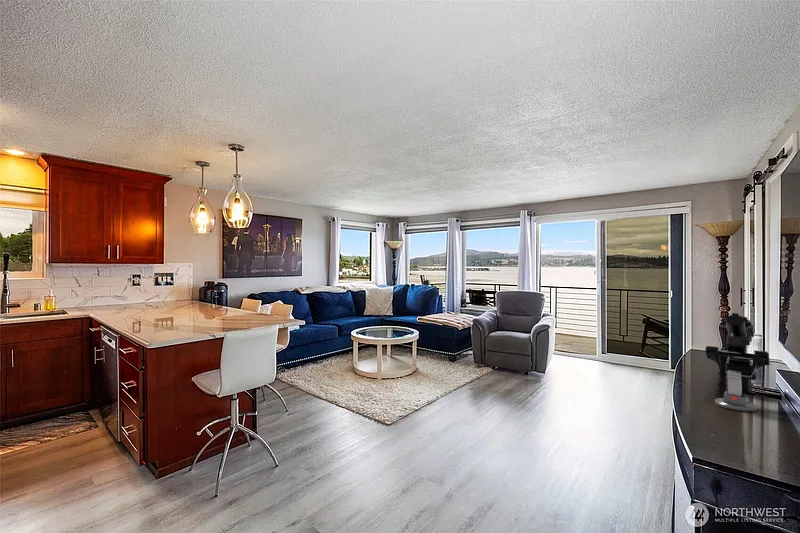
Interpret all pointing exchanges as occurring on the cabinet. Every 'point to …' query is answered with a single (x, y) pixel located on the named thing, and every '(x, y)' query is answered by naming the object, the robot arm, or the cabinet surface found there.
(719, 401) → the stand base
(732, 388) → the column
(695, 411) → the cabinet surface
